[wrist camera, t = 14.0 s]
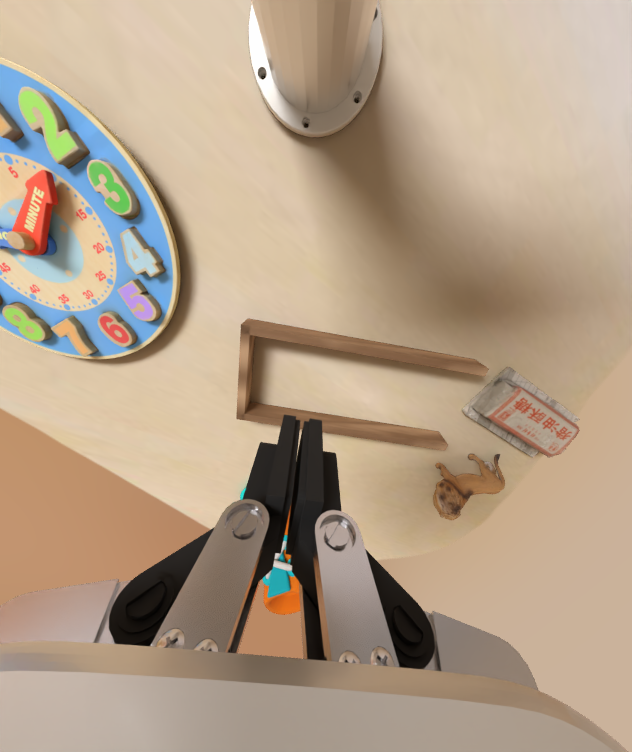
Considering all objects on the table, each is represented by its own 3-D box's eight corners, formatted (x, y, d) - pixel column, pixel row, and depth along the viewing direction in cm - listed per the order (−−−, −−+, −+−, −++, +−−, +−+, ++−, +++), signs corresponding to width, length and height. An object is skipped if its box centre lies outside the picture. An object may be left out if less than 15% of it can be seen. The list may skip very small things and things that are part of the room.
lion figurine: (425, 485, 50) (445, 529, 42) (417, 468, 48) (436, 511, 40) (500, 460, 47) (537, 503, 39) (494, 441, 45) (533, 482, 37)
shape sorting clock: (71, 381, 41) (33, 400, 35) (-137, 166, 29) (-243, 145, 23) (229, 307, 35) (213, 316, 30) (55, 2, 23) (-25, -76, 18)
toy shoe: (276, 467, 49) (260, 548, 35) (330, 520, 56) (334, 605, 42) (231, 490, 52) (200, 573, 38) (287, 538, 59) (277, 622, 45)
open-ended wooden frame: (247, 318, 36) (241, 324, 32) (474, 359, 38) (488, 368, 35) (242, 406, 42) (236, 418, 39) (436, 436, 45) (444, 450, 42)
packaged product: (473, 426, 38) (528, 377, 35) (457, 408, 43) (505, 364, 39) (546, 471, 42) (603, 433, 39) (525, 451, 47) (574, 415, 43)
